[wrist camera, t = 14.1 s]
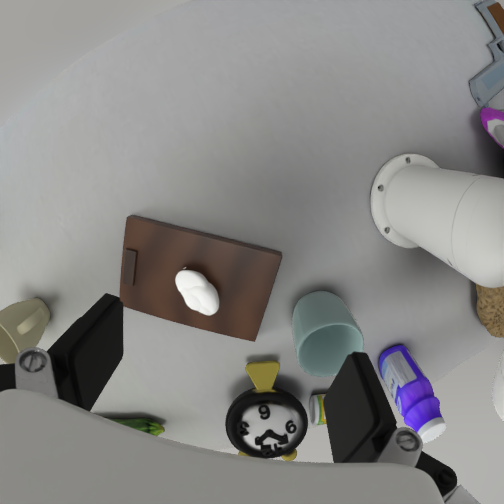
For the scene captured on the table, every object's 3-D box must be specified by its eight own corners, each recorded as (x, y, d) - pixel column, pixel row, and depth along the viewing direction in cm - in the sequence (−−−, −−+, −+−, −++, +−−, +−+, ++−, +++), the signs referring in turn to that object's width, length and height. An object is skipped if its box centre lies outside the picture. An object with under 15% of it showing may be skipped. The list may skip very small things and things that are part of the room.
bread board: (281, 252, 36) (282, 257, 34) (254, 335, 40) (254, 344, 38) (131, 214, 35) (124, 217, 33) (123, 300, 39) (117, 306, 37)
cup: (284, 287, 38) (292, 329, 28) (341, 277, 37) (365, 315, 28) (291, 335, 40) (299, 382, 31) (343, 326, 40) (363, 369, 30)
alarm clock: (306, 362, 46) (342, 436, 35) (248, 402, 50) (272, 470, 38) (260, 348, 39) (299, 443, 28) (199, 394, 43) (221, 476, 32)
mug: (62, 341, 42) (28, 380, 31) (24, 317, 41) (-11, 349, 30) (64, 294, 39) (22, 332, 28) (24, 269, 38) (-20, 298, 27)
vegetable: (78, 443, 41) (151, 447, 39) (79, 414, 46) (150, 411, 44) (101, 450, 46) (173, 452, 44) (101, 423, 51) (171, 420, 49)
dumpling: (232, 295, 37) (226, 317, 34) (199, 306, 39) (192, 327, 35) (202, 253, 34) (193, 273, 31) (169, 267, 36) (159, 287, 32)
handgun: (488, -1, 20) (529, 64, 23) (424, 29, 26) (477, 111, 29) (497, -6, 17) (540, 63, 20) (435, 22, 23) (491, 111, 26)
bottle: (374, 350, 41) (415, 430, 25) (405, 336, 40) (455, 410, 24) (379, 378, 43) (412, 454, 27) (407, 366, 42) (448, 437, 26)
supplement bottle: (314, 427, 38) (371, 419, 38) (314, 396, 40) (371, 389, 40) (309, 422, 43) (361, 415, 43) (309, 394, 45) (360, 388, 45)
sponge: (457, 259, 37) (473, 355, 39) (491, 263, 30) (500, 368, 31) (496, 228, 38) (510, 318, 39) (526, 227, 30) (535, 326, 31)
